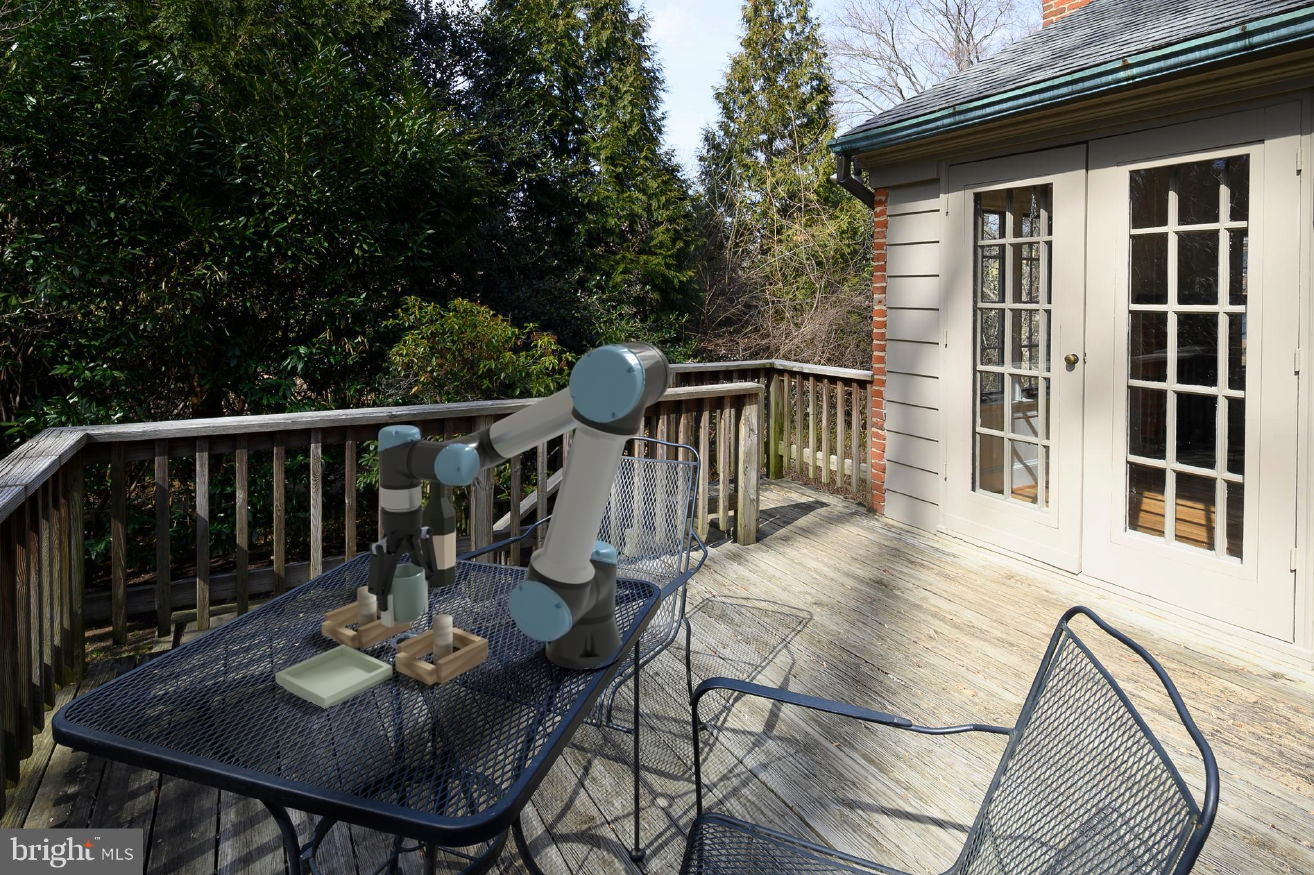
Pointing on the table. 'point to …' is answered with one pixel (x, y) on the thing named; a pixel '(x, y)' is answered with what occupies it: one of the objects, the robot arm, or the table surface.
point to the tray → (334, 676)
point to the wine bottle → (441, 534)
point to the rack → (425, 643)
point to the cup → (408, 592)
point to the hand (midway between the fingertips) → (405, 617)
